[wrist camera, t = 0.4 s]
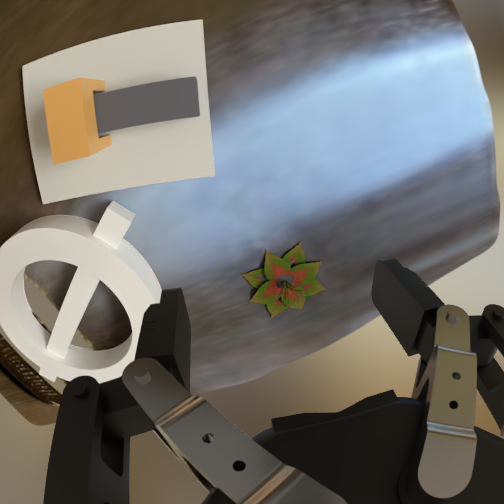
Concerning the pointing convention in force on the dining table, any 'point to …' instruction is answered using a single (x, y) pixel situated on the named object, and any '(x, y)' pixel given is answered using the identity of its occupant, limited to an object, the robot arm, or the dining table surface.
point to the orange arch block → (73, 119)
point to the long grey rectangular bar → (147, 104)
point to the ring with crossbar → (76, 290)
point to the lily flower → (289, 295)
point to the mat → (132, 138)
